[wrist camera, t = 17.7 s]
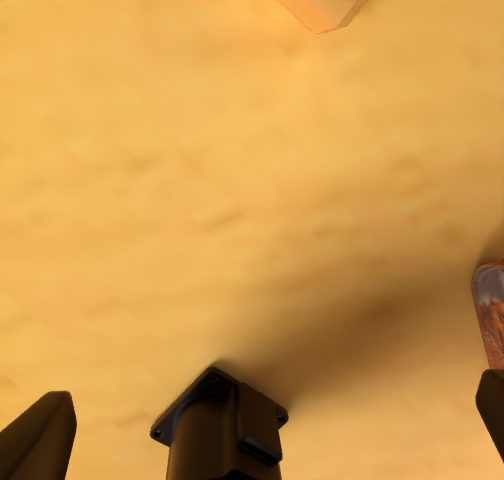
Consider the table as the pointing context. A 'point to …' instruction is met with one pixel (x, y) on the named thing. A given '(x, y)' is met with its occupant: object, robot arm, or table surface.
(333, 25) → the rubber stamp
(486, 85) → the table surface
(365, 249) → the table surface
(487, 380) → the robot arm
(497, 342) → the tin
